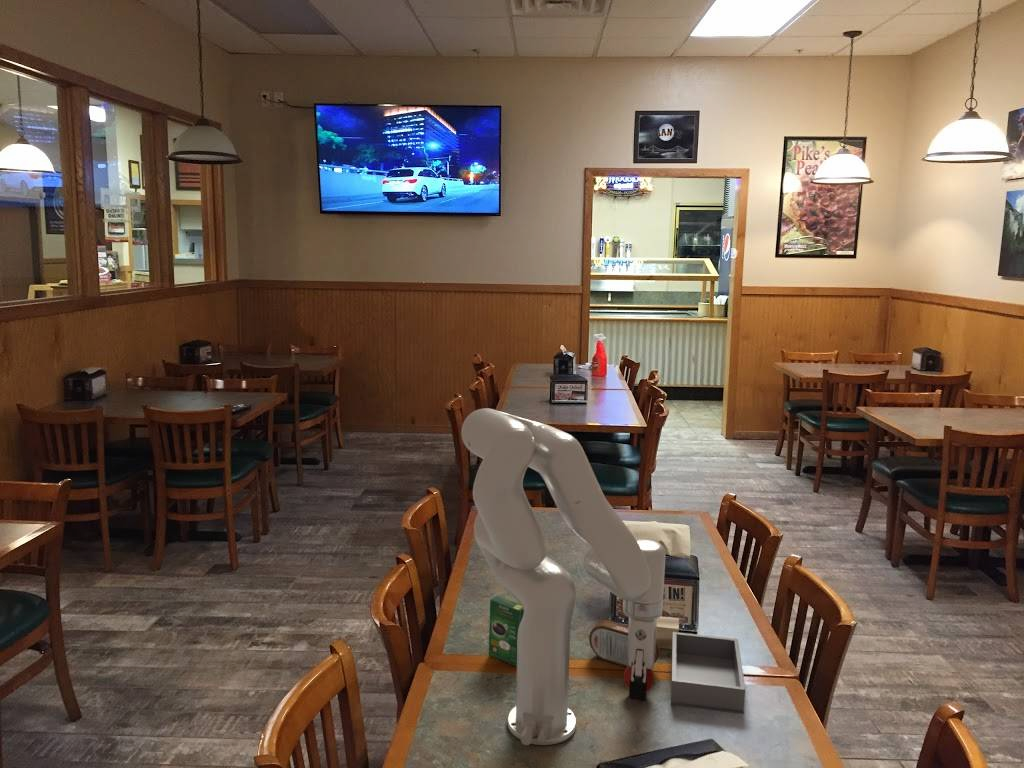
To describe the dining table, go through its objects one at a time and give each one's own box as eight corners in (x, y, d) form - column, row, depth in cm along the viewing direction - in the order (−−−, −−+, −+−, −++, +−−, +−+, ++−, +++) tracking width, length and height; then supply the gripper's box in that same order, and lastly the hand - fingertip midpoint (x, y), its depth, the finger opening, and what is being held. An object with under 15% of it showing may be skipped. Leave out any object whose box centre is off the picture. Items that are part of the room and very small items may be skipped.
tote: (743, 713, 151) (745, 689, 150) (670, 704, 153) (671, 680, 152) (736, 660, 170) (737, 639, 169) (671, 653, 172) (672, 631, 171)
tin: (658, 670, 166) (660, 633, 164) (653, 677, 163) (655, 639, 161) (592, 650, 173) (594, 614, 171) (586, 657, 170) (587, 620, 169)
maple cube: (677, 650, 174) (678, 628, 173) (654, 647, 175) (655, 626, 174) (677, 638, 179) (678, 618, 178) (655, 636, 180) (656, 615, 179)
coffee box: (526, 662, 168) (527, 604, 165) (518, 668, 165) (519, 610, 163) (496, 650, 172) (496, 594, 170) (487, 656, 170) (488, 599, 168)
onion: (635, 683, 161) (637, 646, 159) (658, 695, 156) (660, 657, 155) (617, 694, 156) (619, 656, 155) (641, 706, 152) (643, 668, 151)
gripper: (661, 627, 144) (656, 717, 147) (663, 587, 161) (658, 669, 164) (620, 622, 145) (615, 712, 149) (626, 583, 162) (622, 664, 165)
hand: (638, 689), depth 156 cm, fingers closed on onion, 5 cm apart
